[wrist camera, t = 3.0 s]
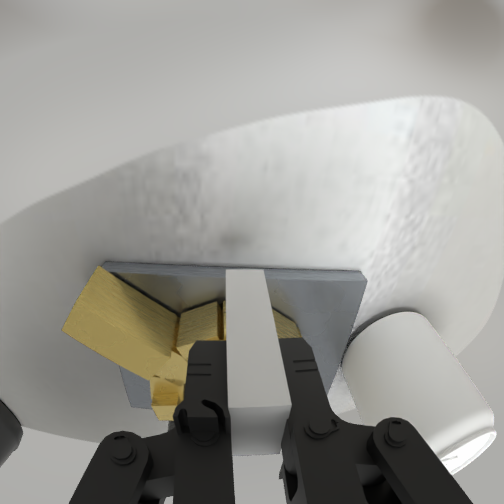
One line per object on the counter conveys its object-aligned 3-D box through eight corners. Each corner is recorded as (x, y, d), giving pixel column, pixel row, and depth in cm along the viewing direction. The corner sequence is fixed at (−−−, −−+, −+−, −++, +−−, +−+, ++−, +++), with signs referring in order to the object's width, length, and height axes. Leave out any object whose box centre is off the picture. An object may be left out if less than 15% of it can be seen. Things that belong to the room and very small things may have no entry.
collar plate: (133, 396, 23) (122, 457, 18) (105, 261, 18) (67, 325, 12) (318, 398, 25) (335, 456, 20) (360, 271, 20) (403, 332, 14)
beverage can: (399, 378, 26) (450, 480, 15) (324, 380, 24) (366, 508, 14) (441, 309, 22) (522, 414, 12) (363, 302, 21) (445, 445, 10)
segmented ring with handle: (333, 347, 21) (351, 390, 17) (242, 417, 23) (246, 458, 20) (130, 213, 15) (105, 247, 12) (64, 328, 18) (43, 369, 14)
